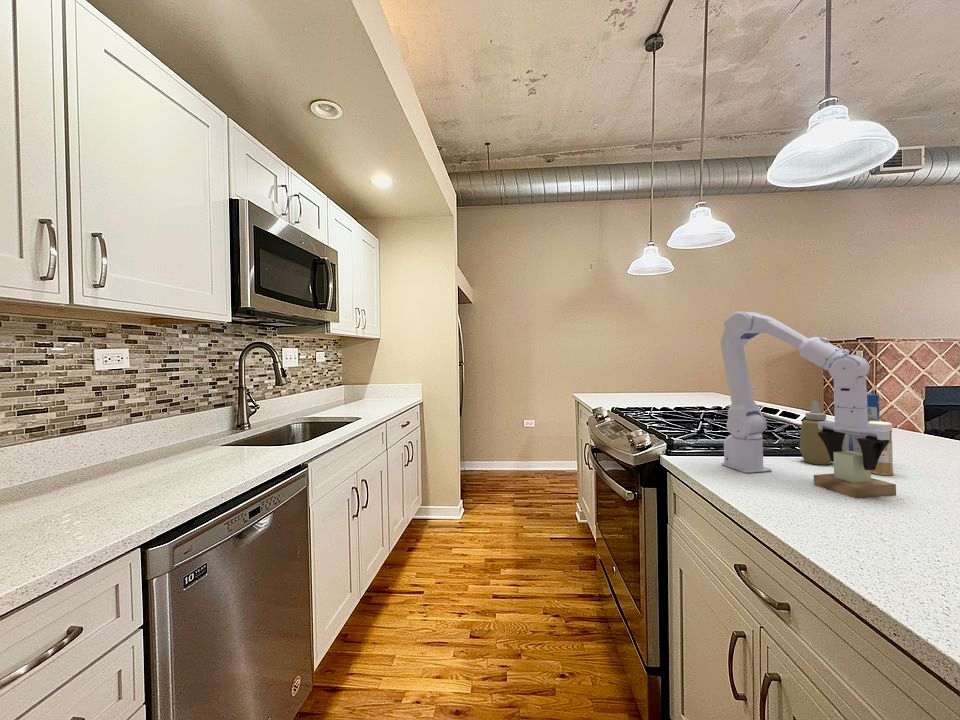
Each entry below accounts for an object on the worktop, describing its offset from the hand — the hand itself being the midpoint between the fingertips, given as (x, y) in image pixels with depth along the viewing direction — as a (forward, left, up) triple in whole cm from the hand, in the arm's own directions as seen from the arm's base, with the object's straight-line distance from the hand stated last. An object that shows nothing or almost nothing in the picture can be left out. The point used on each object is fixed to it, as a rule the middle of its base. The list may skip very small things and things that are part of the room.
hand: (852, 465), depth 95 cm
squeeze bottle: (-22, +14, -6) cm, 27 cm away
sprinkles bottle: (-9, +19, -6) cm, 22 cm away
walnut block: (0, 0, -6) cm, 6 cm away
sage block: (0, 0, -3) cm, 3 cm away
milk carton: (-19, +24, -6) cm, 31 cm away
